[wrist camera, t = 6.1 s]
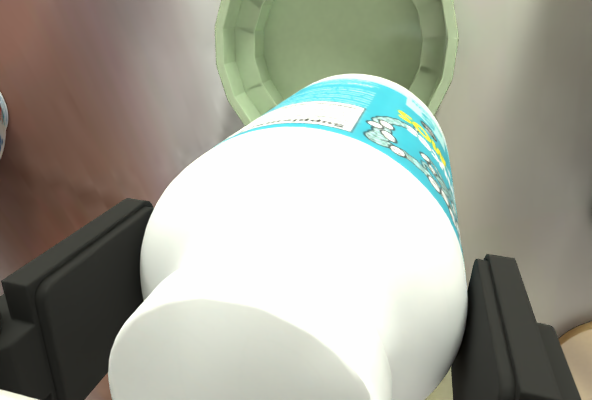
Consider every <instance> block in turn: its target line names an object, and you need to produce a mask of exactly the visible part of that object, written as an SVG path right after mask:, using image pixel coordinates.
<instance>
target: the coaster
mask: <svg viewBox="0 0 592 400" xmlns="http://www.w3.org/2000/svg"><path fill="white" fill-rule="evenodd" d="M558 340H559V342H560V345H561V347H562V350H563V353H564V355H565V358H566V360H567V363H568V366H569V368H570V371H571V373H572V376H573V379H574V381H575V384H576V386H577V389H578V392H579V394H580V397H581V399H582V400H592V322H589V323H585V324H583V325H580V326H578V327H576V328H574V329H572V330H570V331H568V332H567V333H565V334H564V335H562V336H561V337H560V338H559V339H558Z"/></svg>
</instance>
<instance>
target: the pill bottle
mask: <svg viewBox="0 0 592 400" xmlns="http://www.w3.org/2000/svg"><path fill="white" fill-rule="evenodd" d="M140 280H141V289H142V295H143V300H144V302H143V303H142V304H141V305H140V306H139V307H138V308H137V310H136V311H135V312H134V313H133V314H132V315H131V316H130V317H129V319H128V320H127V321H126V322H125V323H124V325H123V326H122V328H121V330H120V331H119V333H118V335H117V336H116V339H115V342H114V344H113V347H112V349H111V353H110V358H109V369H108V378H109V386H110V391H111V396H112V400H425V399H426V398H427V397H428V396H429V395H430V394H431V393H432V392H433V391H434V390H435V388H436V387H437V386H438V385H439V383H440V382H441V381H442V379H443V378H444V377H445V375H446V374H447V372H448V371H449V369H450V367H451V365H452V363H453V361H454V359H455V358H456V356H457V353H458V351H459V348H460V346H461V343H462V339H463V335H464V332H465V328H466V320H467V312H468V293H467V281H466V273H465V266H464V259H463V251H462V245H461V238H460V231H459V225H458V218H457V211H456V203H455V196H454V188H453V181H452V174H451V167H450V160H449V155H448V149H447V145H446V140H445V137H444V135H443V132H442V130H441V128H440V125H439V124H438V122H437V120H436V119H435V117H434V116H433V114H432V113H431V111H430V110H429V109H428V108H427V106H426V105H425V104H424V103H423V102H422V101H421V100H420V99H418V98H417V97H416V96H415V95H414V94H413V93H411V92H410V91H408V90H407V89H405V88H404V87H402V86H400V85H398V84H397V83H394V82H392V81H390V80H387V79H384V78H381V77H377V76H372V75H366V74H343V75H335V76H331V77H327V78H324V79H322V80H319V81H317V82H314V83H312V84H310V85H308V86H307V87H305V88H303V89H301V90H300V91H298V92H297V93H295V94H293V95H292V96H290V97H289V98H287V99H286V100H284V101H283V102H281V103H280V104H278V105H277V106H275V107H274V108H272V109H271V110H269V111H268V112H266V113H265V114H263V115H262V116H260V117H259V118H257V119H256V120H254V121H253V122H251V123H250V124H248V125H247V126H245V127H244V128H242V129H241V130H239V131H238V132H236V133H235V134H233V135H232V136H230V137H228V138H227V139H225V140H224V141H222V142H221V143H219V144H218V145H216V146H215V147H214V148H212V149H211V150H209V151H208V152H207V153H205V154H204V155H202V156H201V157H199V158H198V159H197V160H195V161H194V162H193V163H191V164H190V165H189V166H188V167H186V168H185V169H184V170H183V171H182V172H181V173H180V174H179V175H178V176H177V177H176V178H175V179H174V180H173V181H172V182H171V184H170V185H169V186H168V187H167V189H166V190H165V191H164V193H163V194H162V196H161V198H160V199H159V201H158V202H157V204H156V206H155V208H154V210H153V212H152V214H151V216H150V219H149V221H148V224H147V226H146V230H145V234H144V238H143V242H142V247H141V255H140Z"/></svg>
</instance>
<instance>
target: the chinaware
mask: <svg viewBox="0 0 592 400" xmlns="http://www.w3.org/2000/svg"><path fill="white" fill-rule="evenodd" d="M7 125H8V110H7V106H6V103H5V100H4V98H3V96H2V94H1V92H0V159H1V156H2V153H3V150H4V146H5V139H6V128H7Z"/></svg>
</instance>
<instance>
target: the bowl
mask: <svg viewBox="0 0 592 400" xmlns="http://www.w3.org/2000/svg"><path fill="white" fill-rule="evenodd" d="M458 41H459V36H458V29H457V23H456V17H455V10H454V4H453V0H221V3H220V8H219V12H218V16H217V20H216V24H215V47H216V65H217V69H218V72H219V75H220V78H221V81H222V84H223V87H224V91H225V94H226V97H227V100H228V102H229V103H230V105H231V106H232V107H233V109H234V110H235V112H236V113H237V115H238V116H239V118H240V119H241V121H242V122H243V124H244V125H245V126H247V125H248V124H250V123H251V122H253V121H254V120H256V119H257V118H259V117H260V116H262V115H263V114H265V113H266V112H268V111H269V110H271V109H272V108H274V107H275V106H277V105H278V104H280V103H281V102H283V101H284V100H286V99H287V98H289V97H290V96H292V95H293V94H295V93H297V92H298V91H300V90H301V89H303V88H305V87H307V86H308V85H310V84H312V83H314V82H317V81H319V80H322V79H324V78H327V77H331V76H335V75H343V74H366V75H372V76H377V77H381V78H384V79H387V80H390V81H392V82H394V83H397V84H398V85H400V86H402V87H404V88H405V89H407V90H408V91H410V92H411V93H413V94H414V95H415V96H416V97H417V98H418V99H420V100H421V101H422V102H423V103H424V104H425V105H426V106H427V108H428V109H429V110H430V111H431V113H432V114H433V116H435V114H436V112H437V110H438V108H439V106H440V104H441V102H442V100H443V98H444V96H445V94H446V92H447V90H448V88H449V86H450V84H451V82H452V78H453V72H454V66H455V59H456V53H457V47H458Z"/></svg>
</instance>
